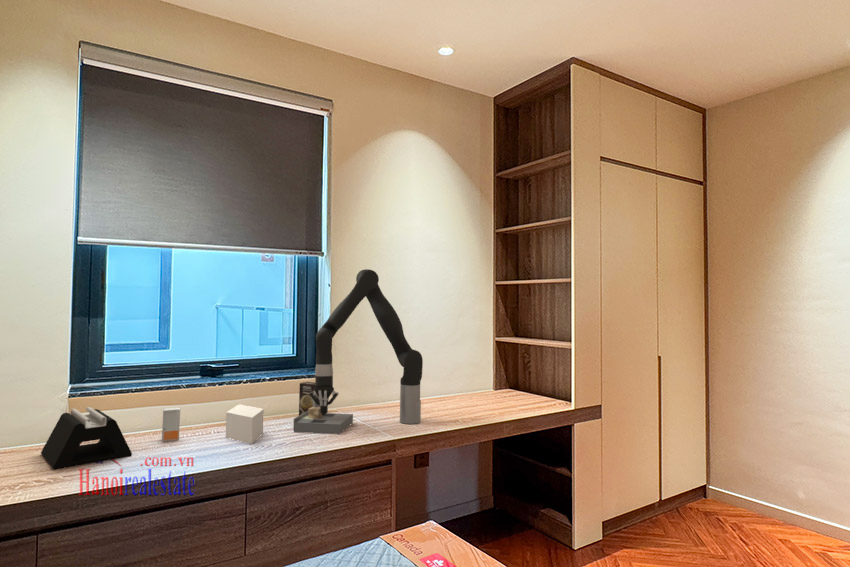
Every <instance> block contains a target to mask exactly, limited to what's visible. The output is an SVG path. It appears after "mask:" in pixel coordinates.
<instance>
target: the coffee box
mask: <svg viewBox="0 0 850 567" xmlns="http://www.w3.org/2000/svg"><path fill="white" fill-rule="evenodd" d="M314 389H315V381H314V382H311V381H305V382H304V381H303V382H300V383H299V391H298V392H299V398H298V416H299V415H301V414H303V413H305V412H306V411H308V409H309V408H311V407H320V405H318V404H316V403H315V401H314V400H313V399H312V397H311V396H310V393H312V392H313V391H314ZM316 396H317V397H318V395H317V394H316ZM318 399H319V397H318Z"/></svg>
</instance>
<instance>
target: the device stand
mask: <svg viewBox="0 0 850 567" xmlns="http://www.w3.org/2000/svg"><path fill="white" fill-rule="evenodd" d="M85 411H86V412H88V414H84V413H81V412H80V411H79V410H78V409H76V408H71V410H70V413H69V412H63V413H62V414H61V415H60V416H59V418H58V419H57V423H56V424H55V425H54V428H53V430H52V432H51V433H50V435H49V437H48V439H47V441H46V443H45V445H44V446H43V448H42V450H41V452H40V454H41V456H42V457H43V458H44V460H46V462H47V464H48V465H49V466H50V467H51V469H53V471H58V470H62V469H66V468H67V469H68V468H72V467H79V466H84V465H85V466H86V465H89V464H95V463H101V462H106V461H112V460H118V459H122V458H123V459H124V458H129V457H132V455H133V452H132V451H131V448H130V447H129V445H128V442H127V441H126V439H125V437H124V435H123V433H122V430H121V429H120V426H119V425H118V422H117V421H116V420H115V419H114V418H113V417H111V416H109V415H107V414H106V413H104V412H103V411H101V409H97V408H95V409H93V408H92V407H90V406H87V407H86V408H85ZM92 441H93V442H94V441H98V442H94V443H87V444H82V443H85V442H92Z"/></svg>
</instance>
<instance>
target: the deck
mask: <svg viewBox="0 0 850 567" xmlns="http://www.w3.org/2000/svg"><path fill="white" fill-rule="evenodd" d="M353 422H354V414H353V413H333V412H327V413H326V414H325V415H322V417H320V418H318V419H313V418H308V411H306V412H305V413H303V414H301V415H299V414H298V415H297V416H296V417H294V418H293V427H292V429H293V431H294V432H293V433H304V432H313V433H312V434H325V433H337V434H336V435H341V434H342V433H343V432H344V431H346V429H348V428H349V427H350V426H351V425H352V424H353ZM350 424H351V425H350ZM349 425H350V426H349ZM348 426H349V427H348ZM347 427H348V428H347ZM343 430H344V431H343ZM342 431H343V432H342ZM341 432H342V433H341ZM340 433H341V434H340Z"/></svg>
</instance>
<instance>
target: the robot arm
mask: <svg viewBox="0 0 850 567" xmlns="http://www.w3.org/2000/svg"><path fill="white" fill-rule="evenodd" d="M355 279H356V280H355V282H356V283H355V285H354V287H353V288H352V289H351V290H350V292H349V293H348V294H347V296H345V298H343V300H342V301H341V302H339V304H338V305H337V306H336V307H335V309H334V310H333V311H332V313H330V315H329V316H328V319H327V320H326V321H325V322H324V323H323V325H322V326H321V327H320V329H319V330H318V331H317V332H316V334H315V345H316V355H315V377H314V378H315V379H314V380H315V381H314V383H315V389H314V391H313V392H312V393H310V396H311V397H312V399H313V400H314V401H315V403H316V404H318V405H320V412H321V413H322V415H325V414H326V413H329V410H328V408H329V405H331V404H332V403H333V402H334V401H335V400H336V399H337V397H338V396H339V395H340V394H339V392H336V391H335V388H334V386H333V385H334V368H333V338H334V337H335V335H337V332H338V331H339V329H341V328H342V327H343V326H344V324H345V323H346V322H347V321H348V319H349V318H350V316H351V315H352V314H353V312H354V311H355V310H356V308H357V307H358V306H359V304H360V303H361V302H362V301H363V300H364V299H365V298H366V299H367V301H368V304H369V305H370V308H371V309H372V312H373V314H374V316H375V319H376V321H377V322H378V324H379V326H380V328H381V330H382V331H383V333H384V335H385V336H386V338H387V340H388V341H389V343H390V344H391V346H392V348H393V351H394V353H395V355H396V358H397V361H398V363H399V364H400V366H401V367H402V368H403V372H402V377H401V378H400V384H399V386H400V390H399V395H400V396H399V422H400V423H401V424H406V425H411V424H412V425H417V424H420V422H421V418H422V416H421V414H422V412H421V411H422V410H421V409H422V400H421V381H422V378H423V367H424V366H423V362H424V361H423V356H422V354H421V352H420V351H418V350H416V349H413V348H412V346H410V344H409V342H408V340H407V339H406V337H405V335H404V328H403V324H402V321H401V319H400V317H399V315H398V314H397V312H396V310H395V309H394V307H393V306H392V304H391V302H390V301H389V300H388V299H387V297H386V296H385V295H384V293H383V291H382V290H381V288H380V286H379V279H380V278H379V275H378V273H377V271H375V270H372V269H369V268H368V269H367V268H366V269H365V268H364V269H362V270H359V272H358V273H357V275H356V278H355ZM316 394H317V395H318V397H319V399H318V397H317V396H316ZM331 395H332V397H331V398H330V396H331Z"/></svg>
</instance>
